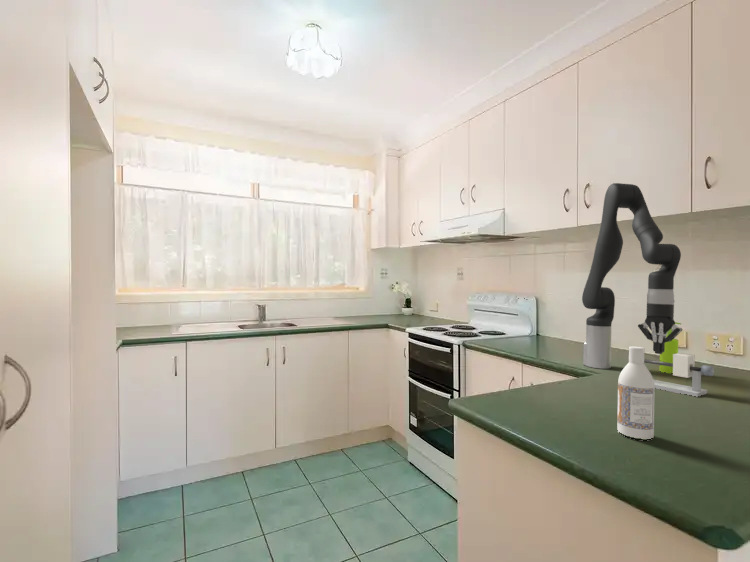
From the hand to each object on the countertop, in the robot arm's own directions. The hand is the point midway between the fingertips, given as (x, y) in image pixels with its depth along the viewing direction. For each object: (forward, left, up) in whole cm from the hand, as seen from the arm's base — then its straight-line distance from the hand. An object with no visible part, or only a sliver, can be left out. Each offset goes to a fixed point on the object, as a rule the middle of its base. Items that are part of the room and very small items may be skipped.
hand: (658, 353), depth 136 cm
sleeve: (+7, 0, -6) cm, 9 cm away
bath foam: (+17, -56, -11) cm, 60 cm away
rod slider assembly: (+3, 0, -11) cm, 12 cm away
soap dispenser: (-8, +31, -11) cm, 34 cm away
